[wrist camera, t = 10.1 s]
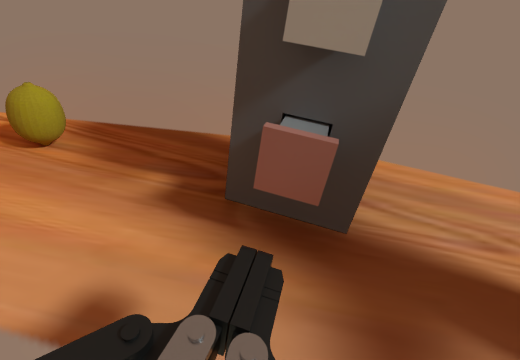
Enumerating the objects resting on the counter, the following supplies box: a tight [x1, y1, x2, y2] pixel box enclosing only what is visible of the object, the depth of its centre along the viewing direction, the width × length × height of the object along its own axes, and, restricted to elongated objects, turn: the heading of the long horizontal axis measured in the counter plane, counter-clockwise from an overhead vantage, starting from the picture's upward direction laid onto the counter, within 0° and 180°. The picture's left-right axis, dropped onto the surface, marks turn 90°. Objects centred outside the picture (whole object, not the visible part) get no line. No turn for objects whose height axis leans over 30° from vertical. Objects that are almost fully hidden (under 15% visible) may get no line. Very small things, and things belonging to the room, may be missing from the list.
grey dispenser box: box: [225, 0, 447, 233], centre depth 29 cm, size 12×14×24 cm
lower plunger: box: [253, 114, 339, 206], centre depth 24 cm, size 9×6×6 cm, turn 165°
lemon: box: [5, 82, 66, 146], centre depth 33 cm, size 6×6×8 cm
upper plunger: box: [283, 0, 383, 56], centre depth 20 cm, size 9×6×6 cm, turn 165°
